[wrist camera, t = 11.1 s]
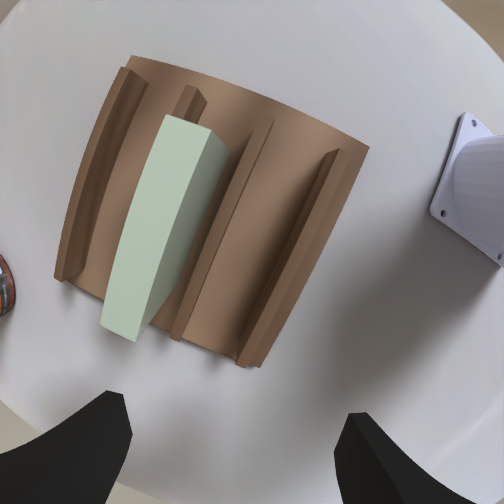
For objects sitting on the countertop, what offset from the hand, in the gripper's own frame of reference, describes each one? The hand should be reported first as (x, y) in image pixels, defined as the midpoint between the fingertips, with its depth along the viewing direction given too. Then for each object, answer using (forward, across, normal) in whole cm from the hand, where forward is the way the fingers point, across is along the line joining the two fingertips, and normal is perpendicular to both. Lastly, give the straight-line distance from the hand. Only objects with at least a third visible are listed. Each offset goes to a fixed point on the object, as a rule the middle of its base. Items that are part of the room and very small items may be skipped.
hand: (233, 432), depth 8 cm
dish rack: (+10, +3, -5) cm, 12 cm away
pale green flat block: (+10, +3, -5) cm, 12 cm away
